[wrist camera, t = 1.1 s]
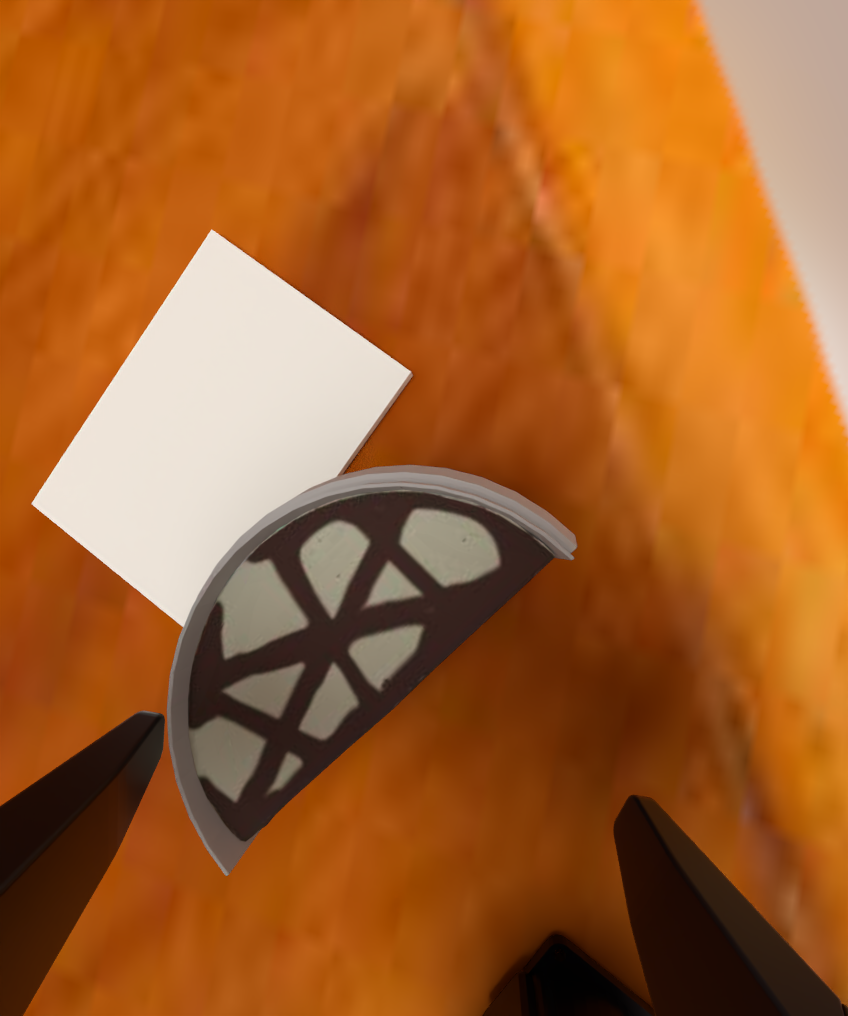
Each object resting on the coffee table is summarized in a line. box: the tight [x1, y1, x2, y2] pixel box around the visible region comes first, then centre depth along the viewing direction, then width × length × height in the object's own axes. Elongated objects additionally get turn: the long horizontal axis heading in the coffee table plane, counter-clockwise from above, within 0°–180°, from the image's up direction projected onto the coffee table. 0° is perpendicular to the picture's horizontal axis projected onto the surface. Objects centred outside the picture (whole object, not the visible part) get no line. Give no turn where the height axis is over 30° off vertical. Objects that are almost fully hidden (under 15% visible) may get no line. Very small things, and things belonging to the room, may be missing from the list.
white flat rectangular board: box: [32, 230, 413, 627], centre depth 22 cm, size 11×15×1 cm
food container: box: [167, 465, 577, 876], centre depth 16 cm, size 12×6×10 cm, turn 134°
